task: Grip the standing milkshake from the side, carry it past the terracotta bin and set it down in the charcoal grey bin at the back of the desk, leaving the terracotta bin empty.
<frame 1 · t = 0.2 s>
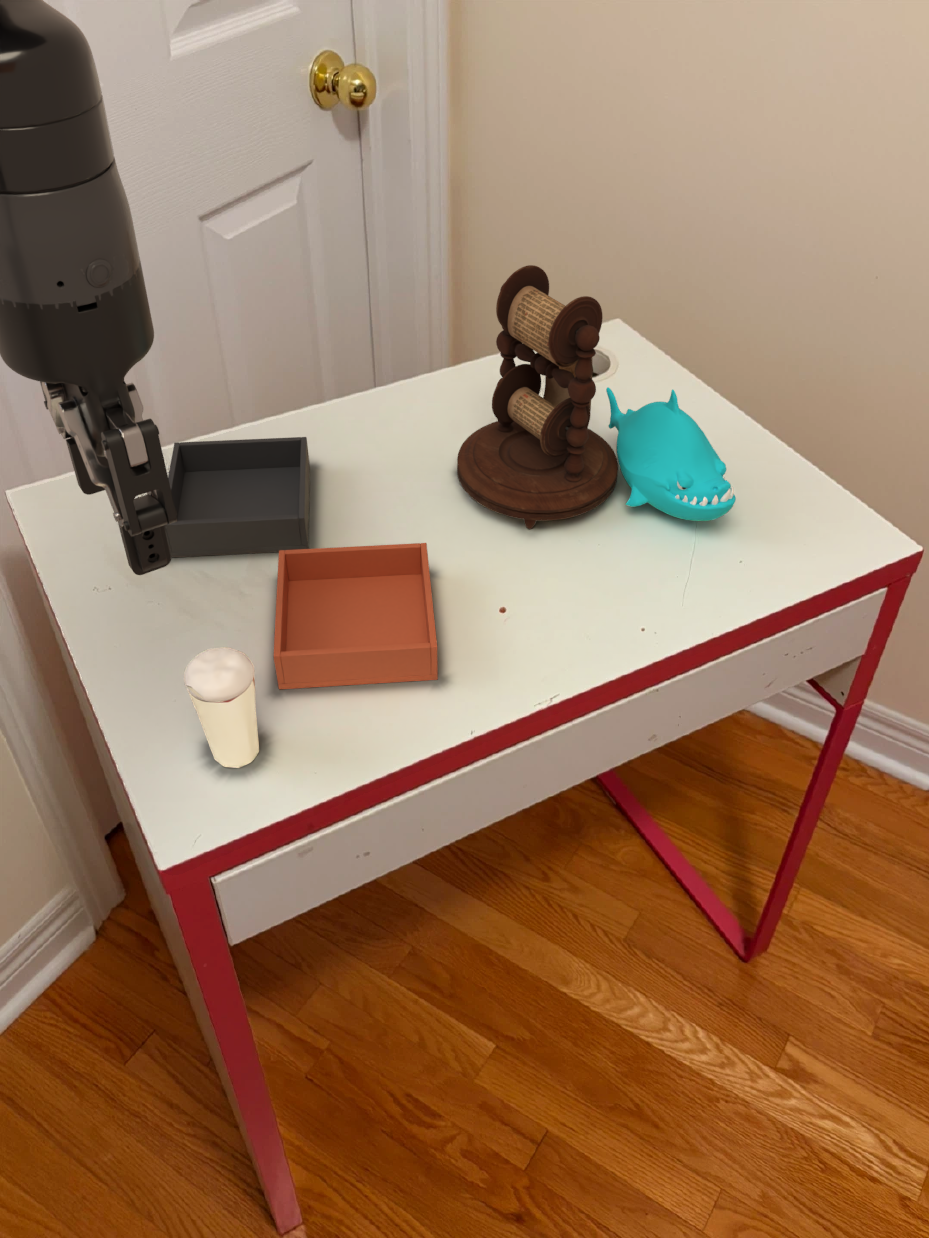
hand: (124, 526, 61), 20 cm above the table, tool pointing down, fingers open, 8 cm apart
grey bin: (242, 511, 94), on the table
wooden thread spool stand: (535, 485, 98), on the table
milkshake: (233, 756, 75), on the table
terracotta bin: (357, 629, 84), on the table
toy shark: (656, 492, 97), on the table
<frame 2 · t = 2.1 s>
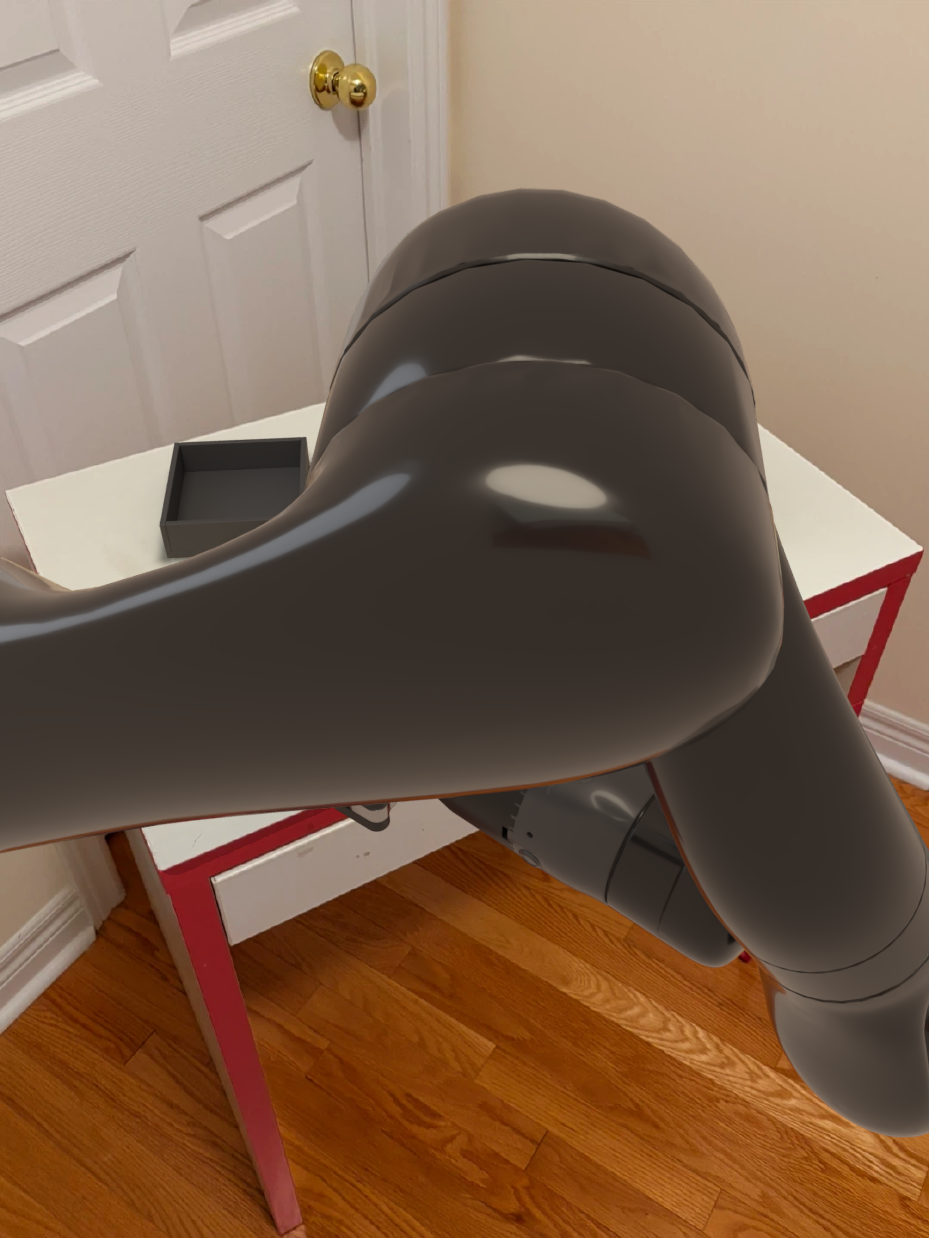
hand: (318, 641, 57), 18 cm above the table, tool horizontal, fingers open, 8 cm apart
nothing on the table moved.
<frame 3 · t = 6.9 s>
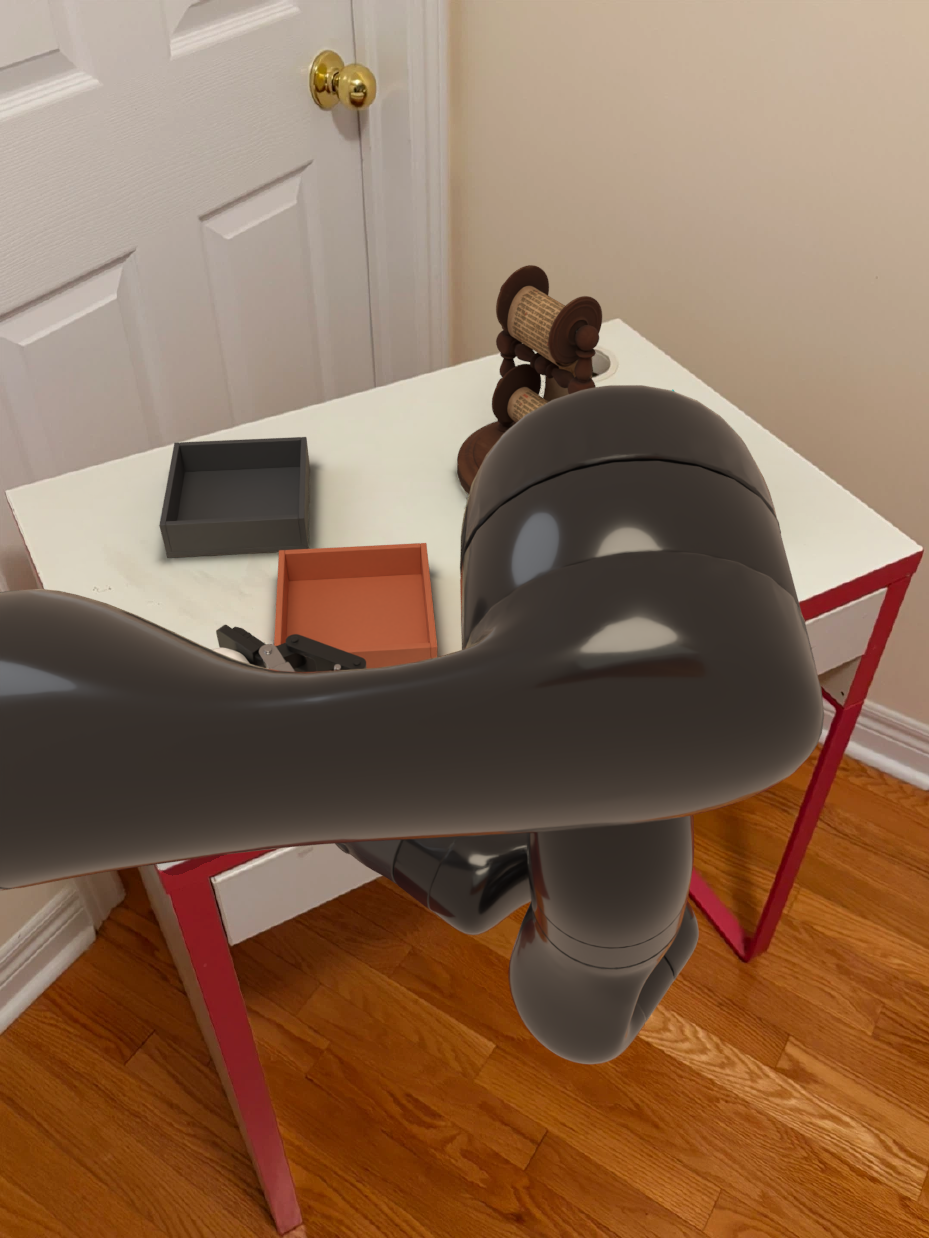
hand: (190, 658, 70), 8 cm above the table, tool horizontal, fingers closed on milkshake, 4 cm apart
milkshake: (234, 756, 75), on the table, touching gripper
everything else where it was.
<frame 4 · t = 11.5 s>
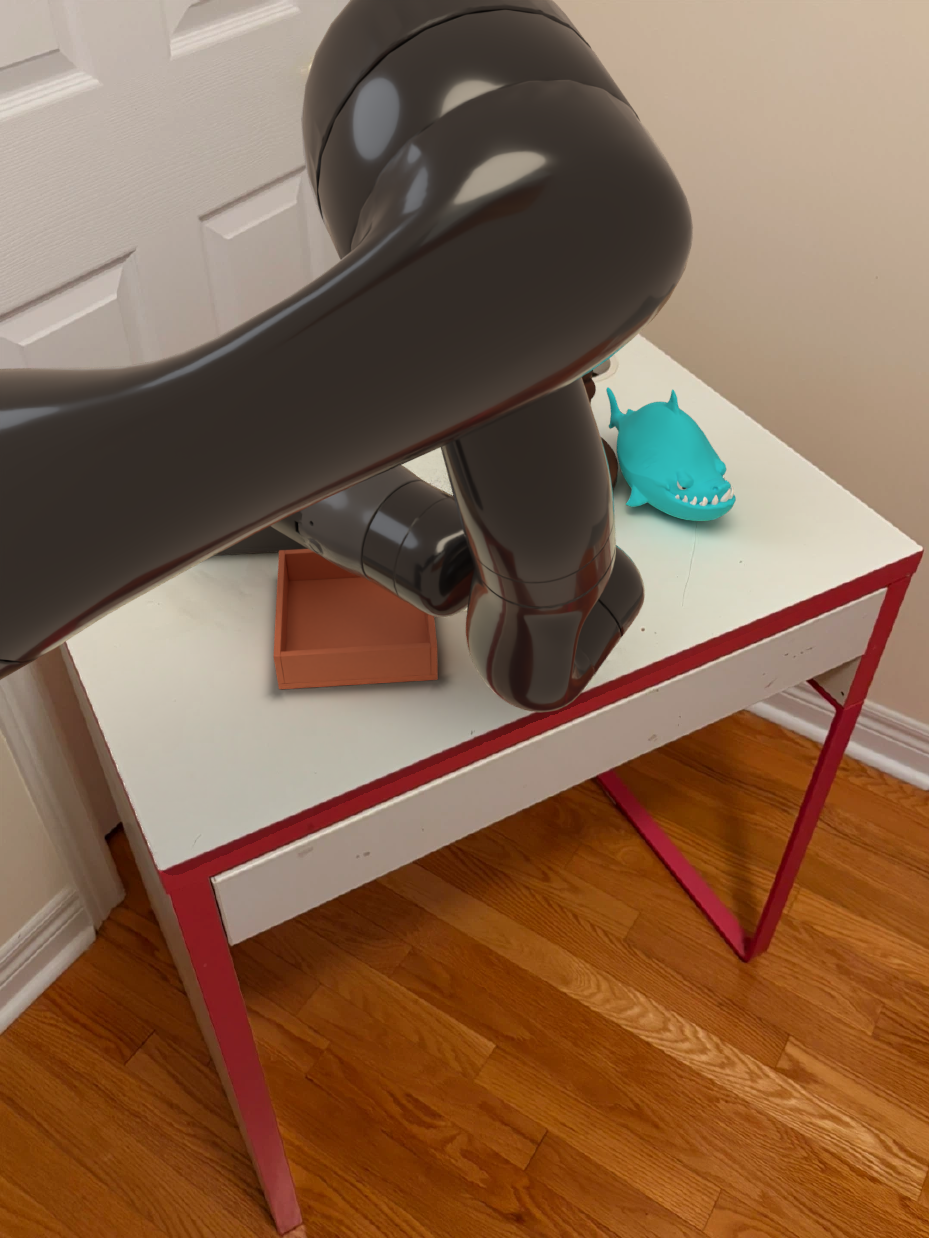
hand: (177, 409, 74), 18 cm above the table, tool horizontal, fingers closed on milkshake, 4 cm apart
milkshake: (219, 516, 79), point 9 cm above the table, touching gripper
everything else where it was.
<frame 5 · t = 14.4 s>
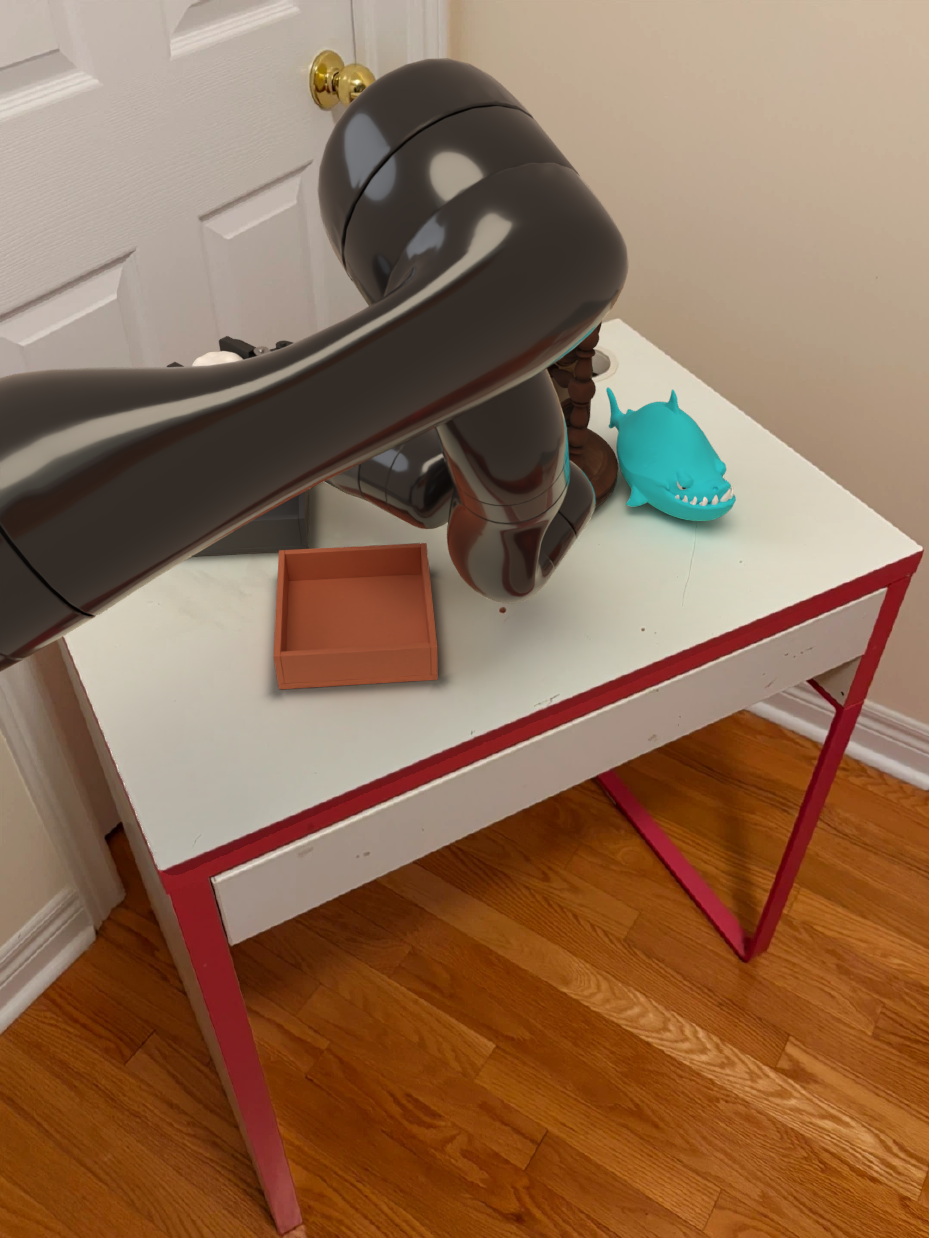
hand: (198, 361, 86), 14 cm above the table, tool horizontal, fingers closed on milkshake, 4 cm apart
milkshake: (234, 456, 90), point 6 cm above the table, touching gripper
everything else where it was.
when the fingers open (9 cm above the table, at t = 16.4 s): milkshake stays where it is, resting on grey bin.
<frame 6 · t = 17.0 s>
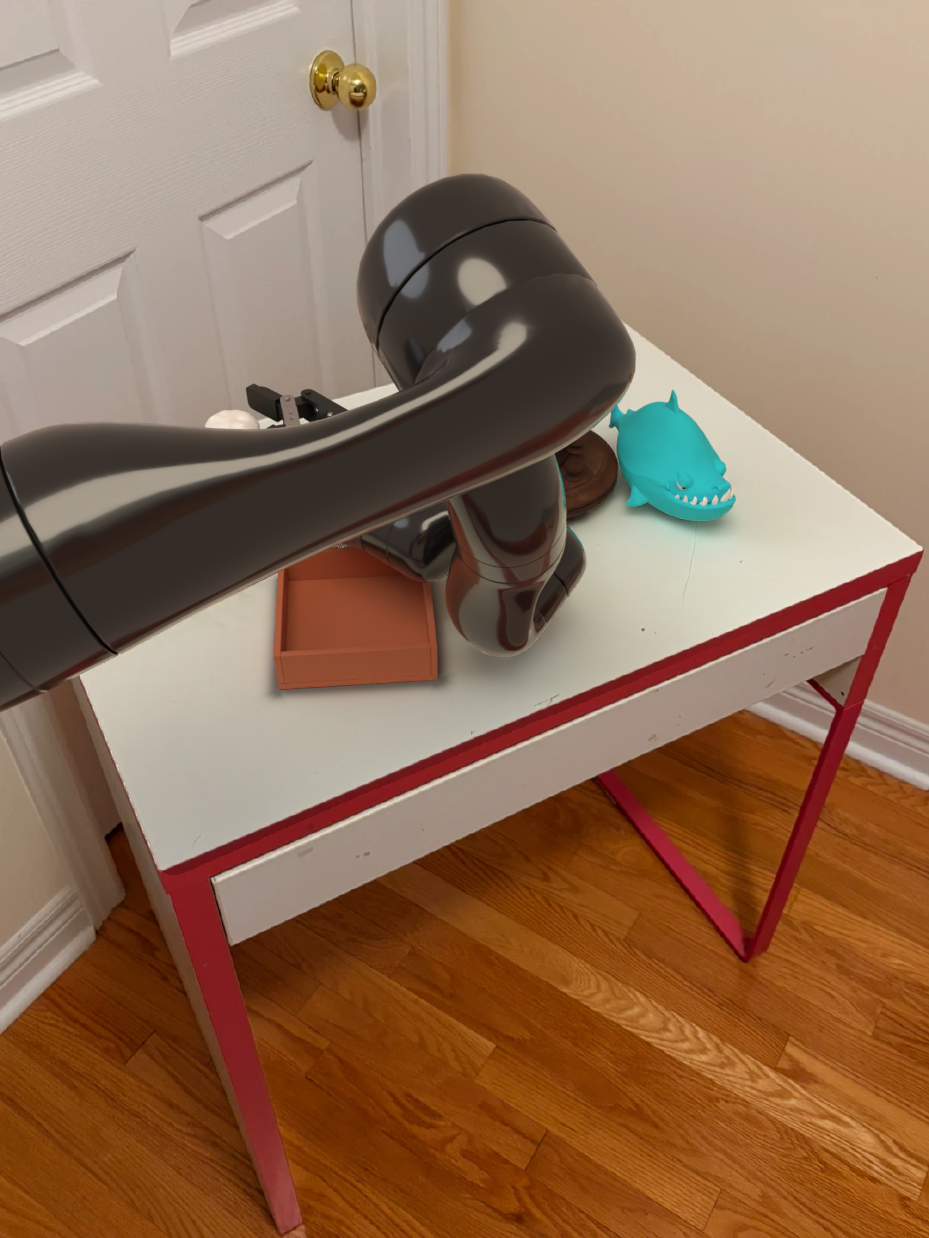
hand: (211, 415, 89), 9 cm above the table, tool horizontal, fingers open, 8 cm apart
milkshake: (242, 508, 94), resting on grey bin
everything else where it was.
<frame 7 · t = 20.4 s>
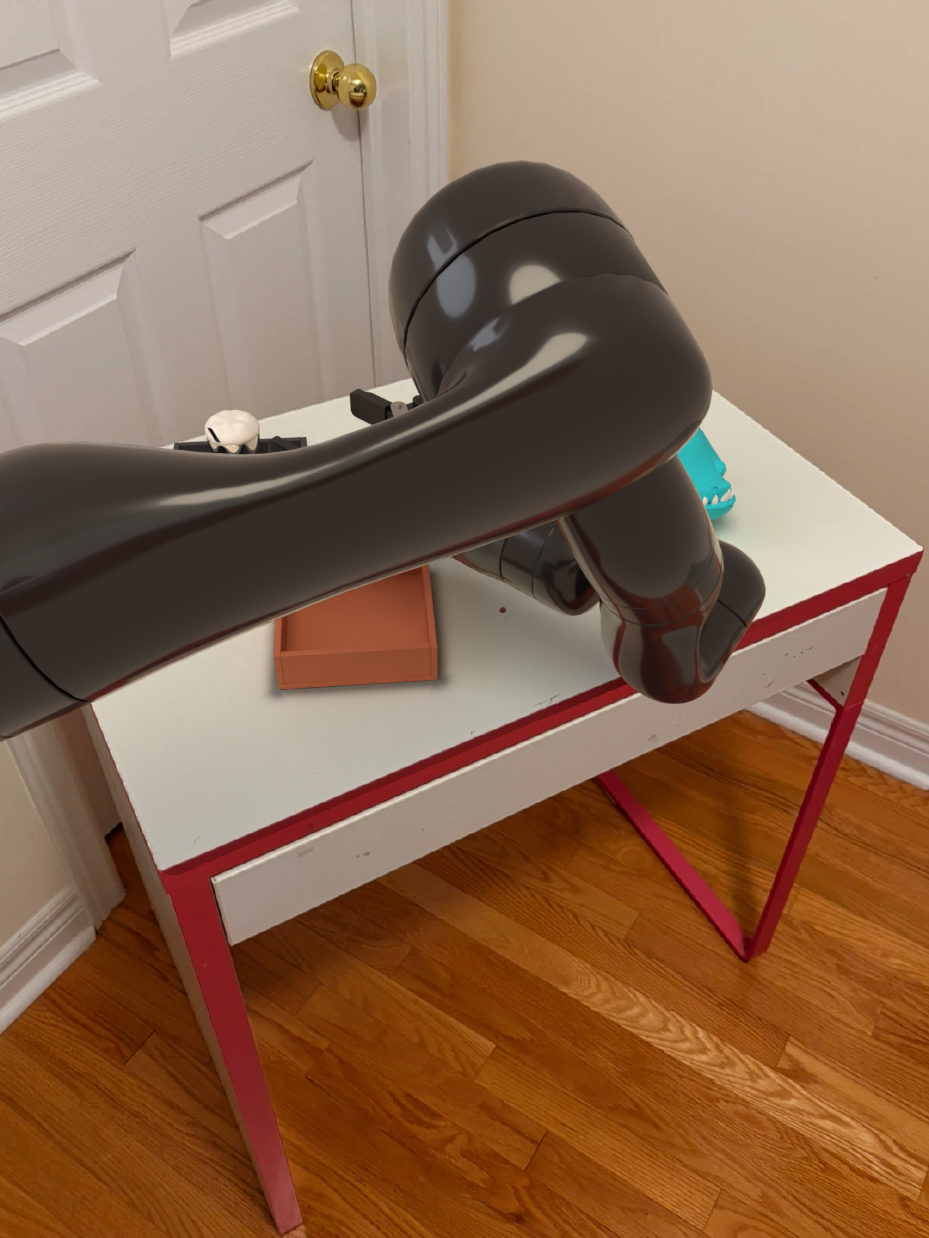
hand: (313, 424, 80), 14 cm above the table, tool horizontal, fingers open, 8 cm apart
nothing on the table moved.
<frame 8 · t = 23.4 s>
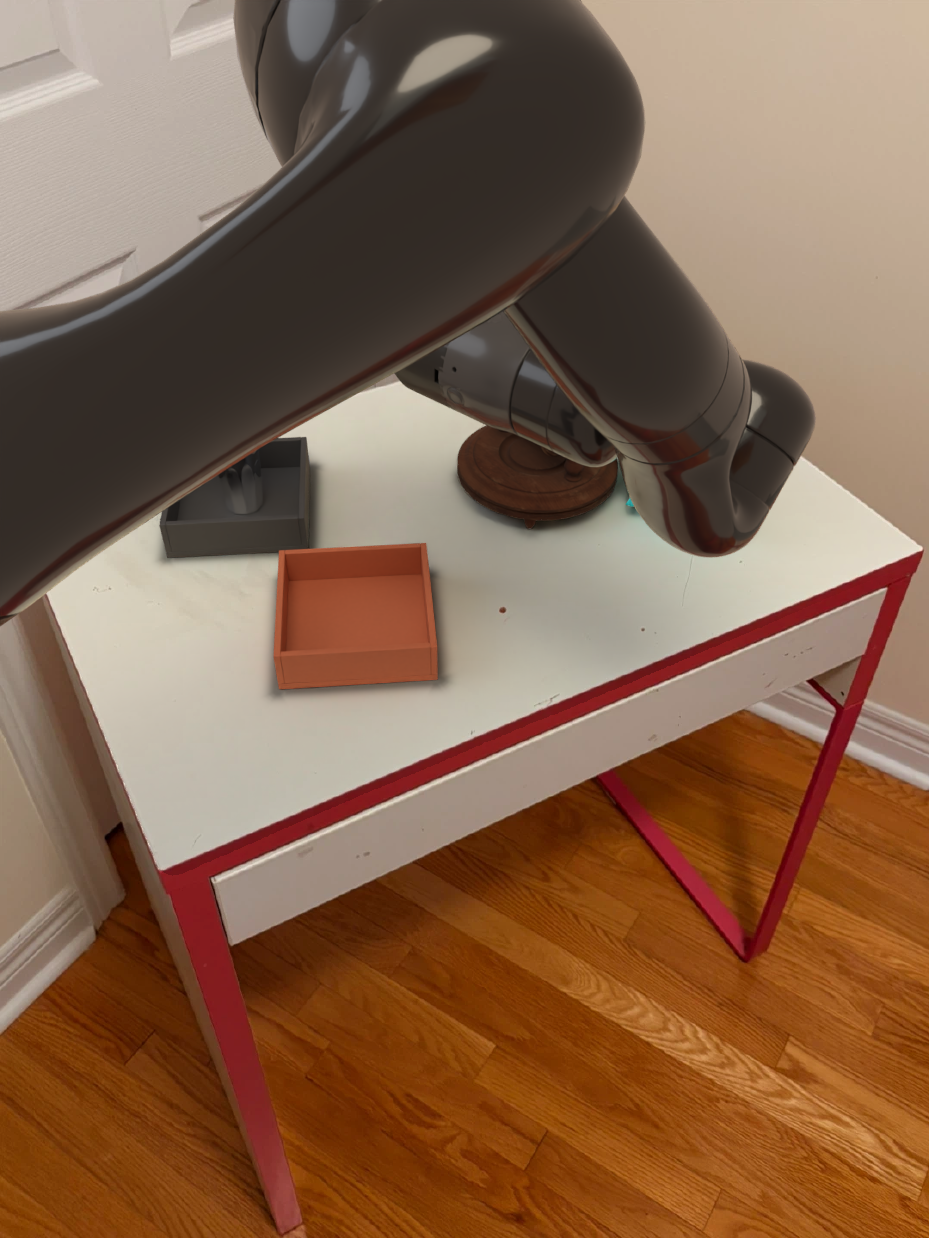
hand: (300, 275, 71), 26 cm above the table, tool horizontal, fingers open, 8 cm apart
nothing on the table moved.
at the end: milkshake inside the target area in the grey bin (0.1 cm from its centre), point 0.4 cm above the grey bin's base; milkshake tilted 0°; the gripper is holding nothing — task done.
